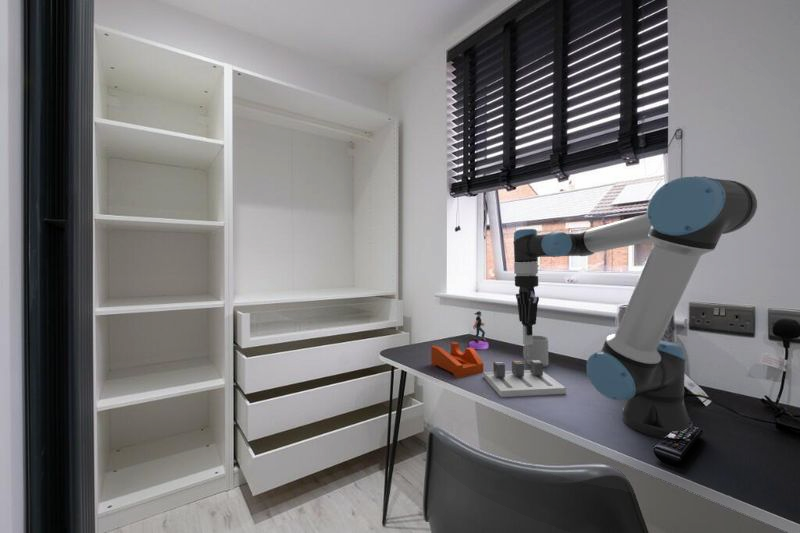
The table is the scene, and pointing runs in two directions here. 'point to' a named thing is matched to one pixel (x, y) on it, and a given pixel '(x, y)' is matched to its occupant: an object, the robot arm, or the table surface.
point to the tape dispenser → (457, 360)
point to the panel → (524, 384)
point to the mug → (537, 350)
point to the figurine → (476, 343)
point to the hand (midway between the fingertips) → (527, 344)
